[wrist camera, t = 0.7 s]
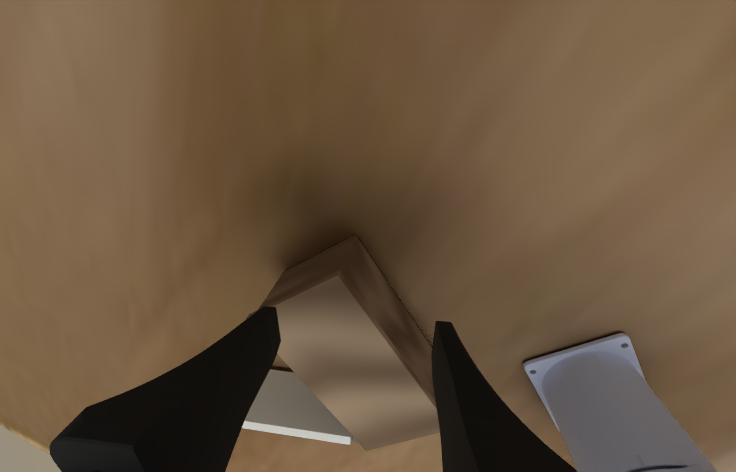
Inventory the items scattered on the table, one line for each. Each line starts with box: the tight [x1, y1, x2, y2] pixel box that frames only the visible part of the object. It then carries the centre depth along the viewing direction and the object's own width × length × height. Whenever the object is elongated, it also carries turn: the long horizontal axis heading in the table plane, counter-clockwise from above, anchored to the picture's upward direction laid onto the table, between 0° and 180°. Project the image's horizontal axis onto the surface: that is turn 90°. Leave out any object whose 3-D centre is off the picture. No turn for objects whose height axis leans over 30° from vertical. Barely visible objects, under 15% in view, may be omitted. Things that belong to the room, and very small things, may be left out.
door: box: [242, 369, 358, 445], centre depth 28 cm, size 14×2×5 cm, turn 87°
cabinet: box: [247, 235, 440, 451], centre depth 24 cm, size 15×7×6 cm, turn 32°
